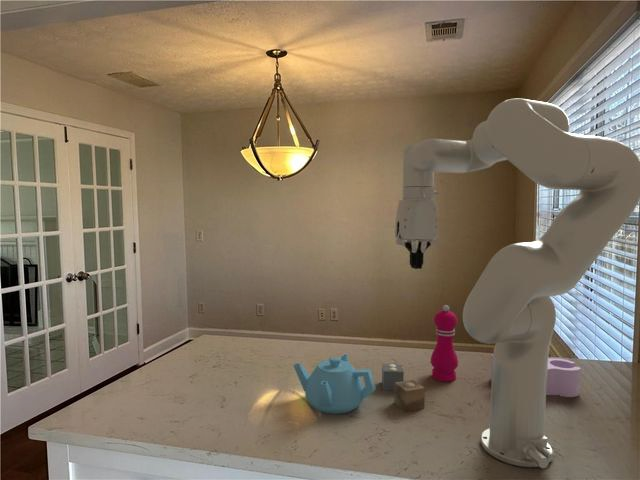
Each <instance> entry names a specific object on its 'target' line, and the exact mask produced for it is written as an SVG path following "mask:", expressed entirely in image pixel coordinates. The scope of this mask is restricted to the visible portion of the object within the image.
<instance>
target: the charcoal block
mask: <svg viewBox="0 0 640 480" xmlns="http://www.w3.org/2000/svg"><path fill="white" fill-rule="evenodd" d="M404 375H405V374H404V369H403V365H402V364H394V363H393V364H392V363H390V364H389V363H382V364H381V385H382V389H383V391H395V382H401V381H404V378H405V377H404Z"/></svg>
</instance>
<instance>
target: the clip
mask: <svg viewBox="0 0 640 480" xmlns="http://www.w3.org/2000/svg"><path fill="white" fill-rule="evenodd" d="M490 359H491V361H490V381H492V359H493V354H491V358H490ZM575 365H576V362H574V361H572V360H568V359H565V358H550V357H549V358H548V370H547V386H546V395H548V396H557V395H560V396H559V397H563V396H564V398H575V397H579V395H580V389H581V373H582V371H581V369H582V368H581V367H579V366H575Z"/></svg>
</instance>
